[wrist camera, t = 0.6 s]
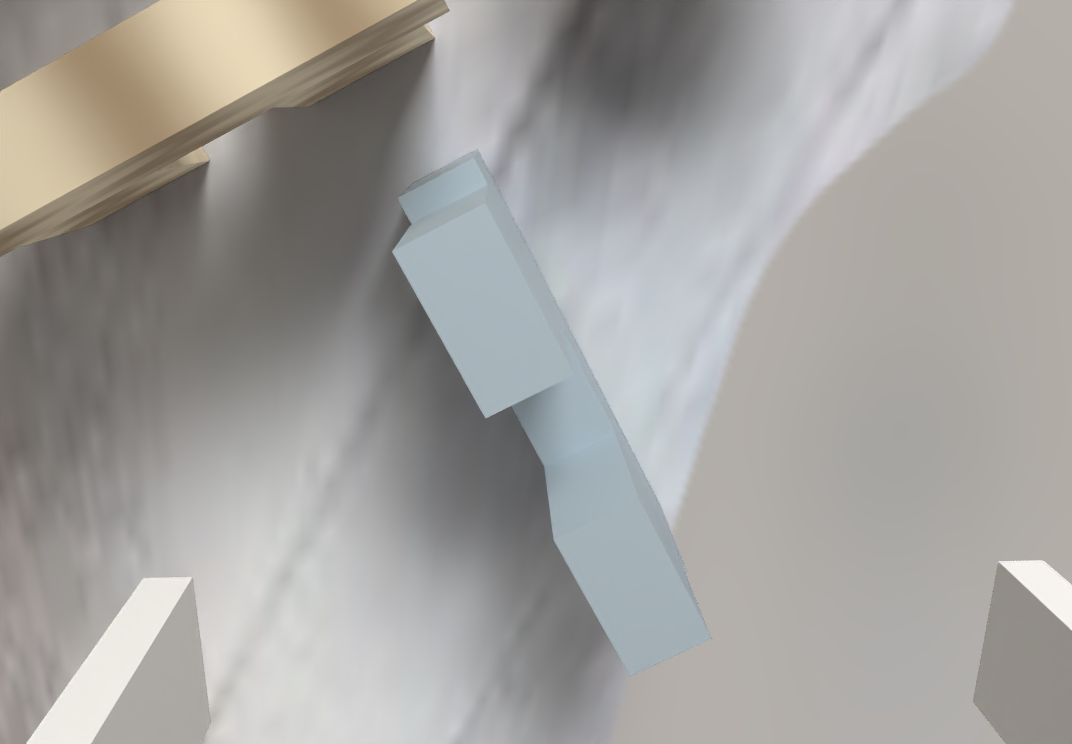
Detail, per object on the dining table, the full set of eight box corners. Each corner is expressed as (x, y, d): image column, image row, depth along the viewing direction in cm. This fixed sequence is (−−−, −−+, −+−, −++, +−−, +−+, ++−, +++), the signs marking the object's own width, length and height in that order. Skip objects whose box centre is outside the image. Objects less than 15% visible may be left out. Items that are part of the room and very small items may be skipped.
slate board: (412, 183, 37) (374, 220, 25) (477, 149, 37) (468, 170, 25) (602, 534, 42) (642, 698, 30) (660, 507, 41) (723, 662, 30)
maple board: (70, 236, 37) (-124, 297, 25) (25, 169, 36) (-195, 201, 25) (457, 25, 35) (438, -12, 24) (420, -50, 34) (381, -125, 23)
